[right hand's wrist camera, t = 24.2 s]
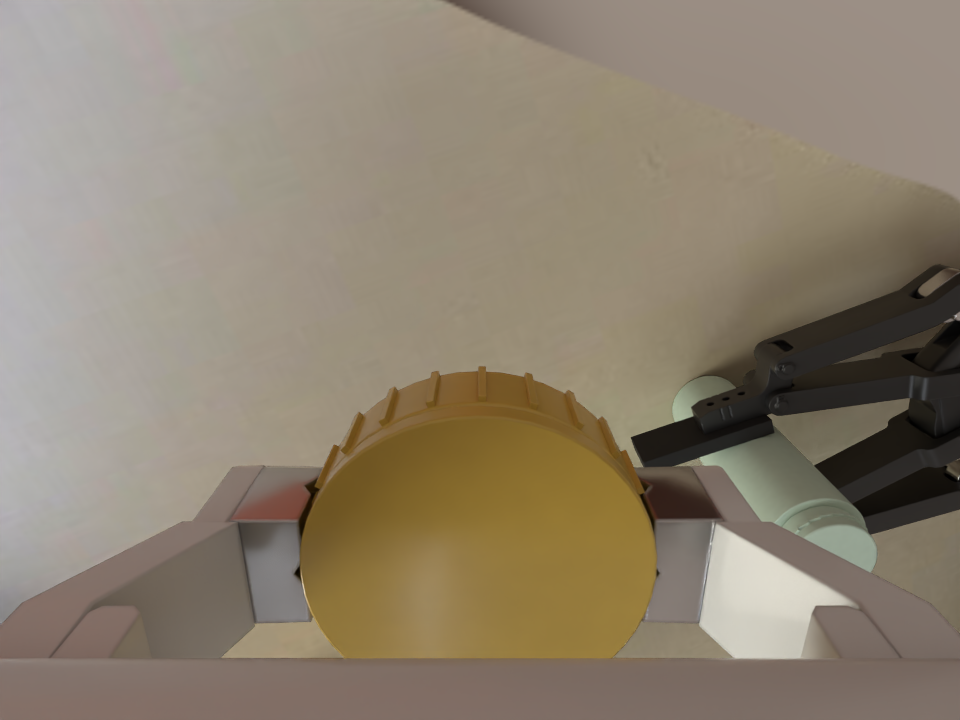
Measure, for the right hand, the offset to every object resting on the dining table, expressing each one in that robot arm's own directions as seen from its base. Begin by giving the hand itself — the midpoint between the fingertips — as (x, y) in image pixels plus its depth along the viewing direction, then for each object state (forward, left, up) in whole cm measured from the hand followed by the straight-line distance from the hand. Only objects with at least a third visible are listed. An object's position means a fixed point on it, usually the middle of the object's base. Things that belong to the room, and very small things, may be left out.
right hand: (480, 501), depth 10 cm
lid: (0, 0, +1) cm, 2 cm away
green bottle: (-14, -11, -26) cm, 32 cm away
